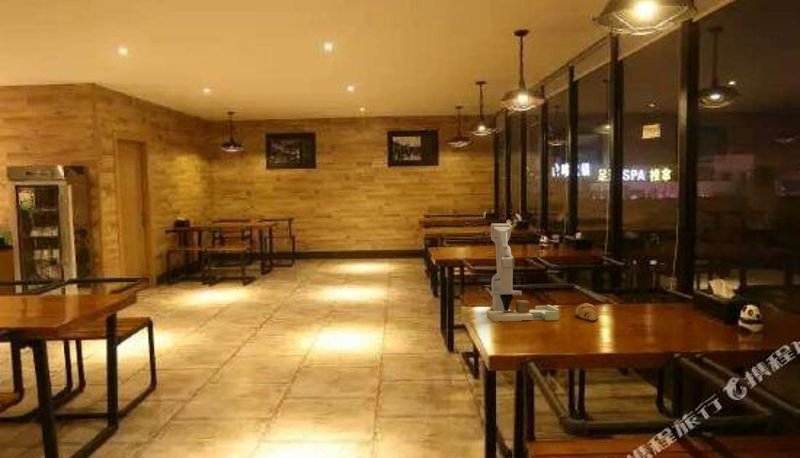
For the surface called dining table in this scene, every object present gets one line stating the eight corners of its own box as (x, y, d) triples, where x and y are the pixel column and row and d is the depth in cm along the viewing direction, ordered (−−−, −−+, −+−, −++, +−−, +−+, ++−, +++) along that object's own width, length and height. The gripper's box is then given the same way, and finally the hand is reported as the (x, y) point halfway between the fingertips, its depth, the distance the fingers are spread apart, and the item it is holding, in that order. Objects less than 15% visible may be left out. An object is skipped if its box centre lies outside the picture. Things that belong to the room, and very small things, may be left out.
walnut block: (515, 310, 283) (515, 300, 283) (525, 310, 284) (525, 300, 284) (519, 312, 278) (519, 302, 278) (529, 312, 279) (529, 302, 279)
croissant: (599, 329, 271) (608, 314, 270) (580, 319, 270) (588, 304, 270) (585, 318, 292) (593, 304, 291) (567, 309, 291) (575, 295, 291)
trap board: (486, 315, 284) (486, 306, 284) (548, 313, 288) (548, 304, 288) (495, 322, 270) (495, 312, 270) (559, 320, 274) (560, 310, 274)
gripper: (494, 283, 275) (493, 312, 276) (524, 283, 277) (523, 311, 278) (489, 281, 282) (489, 309, 283) (519, 280, 284) (518, 308, 285)
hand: (506, 310), depth 281 cm, fingers closed
